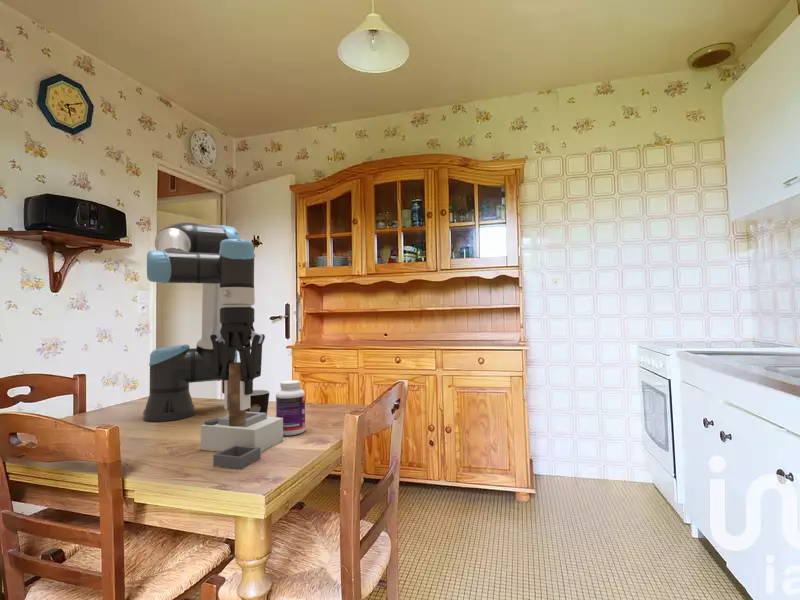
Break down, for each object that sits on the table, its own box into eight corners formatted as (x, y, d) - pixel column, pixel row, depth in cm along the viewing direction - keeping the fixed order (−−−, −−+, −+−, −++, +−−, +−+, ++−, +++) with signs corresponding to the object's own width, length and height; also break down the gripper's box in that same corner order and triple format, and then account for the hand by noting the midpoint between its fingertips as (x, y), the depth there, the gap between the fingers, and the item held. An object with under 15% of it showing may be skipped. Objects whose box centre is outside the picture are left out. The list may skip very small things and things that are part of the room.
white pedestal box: (200, 449, 105) (200, 419, 105) (233, 435, 116) (233, 408, 117) (254, 455, 100) (254, 423, 100) (283, 440, 112) (282, 412, 112)
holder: (213, 466, 93) (213, 455, 93) (234, 455, 100) (234, 445, 100) (240, 469, 91) (240, 458, 91) (260, 458, 98) (260, 447, 98)
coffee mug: (274, 422, 130) (274, 390, 130) (262, 430, 122) (262, 395, 122) (238, 421, 131) (238, 389, 132) (224, 429, 123) (224, 395, 123)
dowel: (225, 425, 95) (225, 363, 95) (236, 421, 98) (235, 362, 98) (238, 426, 93) (238, 364, 94) (249, 422, 97) (248, 362, 97)
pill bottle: (308, 434, 117) (308, 382, 117) (279, 438, 113) (278, 385, 114) (301, 427, 124) (301, 378, 125) (273, 430, 121) (273, 380, 121)
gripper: (195, 307, 95) (195, 410, 95) (257, 305, 91) (258, 414, 90) (219, 307, 103) (219, 403, 102) (277, 306, 98) (278, 406, 97)
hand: (237, 408), depth 96 cm, fingers closed on dowel, 3 cm apart
